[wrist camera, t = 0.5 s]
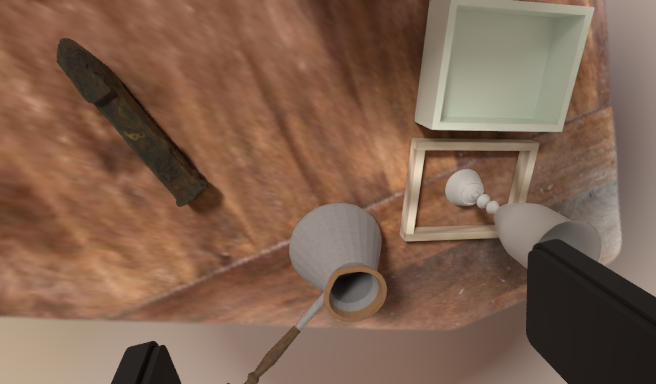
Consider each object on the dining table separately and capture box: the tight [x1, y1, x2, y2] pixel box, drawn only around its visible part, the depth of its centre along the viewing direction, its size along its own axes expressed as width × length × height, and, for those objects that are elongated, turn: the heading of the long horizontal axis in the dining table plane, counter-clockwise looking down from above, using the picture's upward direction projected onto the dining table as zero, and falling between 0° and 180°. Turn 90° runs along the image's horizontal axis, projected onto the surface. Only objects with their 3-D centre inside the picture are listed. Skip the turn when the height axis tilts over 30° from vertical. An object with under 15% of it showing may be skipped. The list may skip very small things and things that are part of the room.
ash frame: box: [400, 138, 540, 241], centre depth 49 cm, size 13×16×2 cm
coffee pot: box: [227, 203, 387, 384], centre depth 43 cm, size 21×12×15 cm, turn 126°
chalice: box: [445, 169, 601, 269], centre depth 42 cm, size 7×7×18 cm
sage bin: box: [414, 0, 595, 132], centre depth 43 cm, size 13×16×5 cm
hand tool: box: [57, 38, 208, 207], centre depth 39 cm, size 19×4×5 cm, turn 29°
